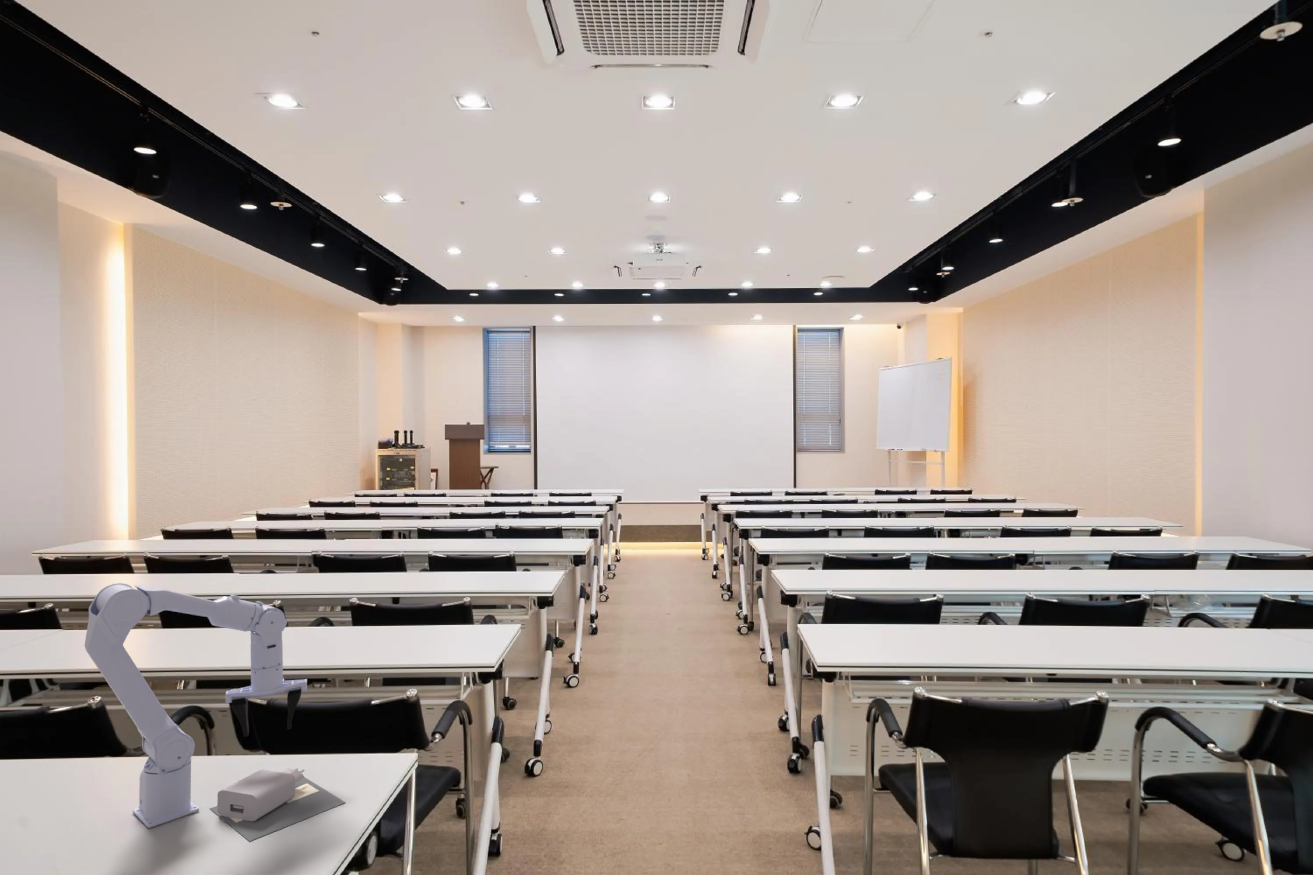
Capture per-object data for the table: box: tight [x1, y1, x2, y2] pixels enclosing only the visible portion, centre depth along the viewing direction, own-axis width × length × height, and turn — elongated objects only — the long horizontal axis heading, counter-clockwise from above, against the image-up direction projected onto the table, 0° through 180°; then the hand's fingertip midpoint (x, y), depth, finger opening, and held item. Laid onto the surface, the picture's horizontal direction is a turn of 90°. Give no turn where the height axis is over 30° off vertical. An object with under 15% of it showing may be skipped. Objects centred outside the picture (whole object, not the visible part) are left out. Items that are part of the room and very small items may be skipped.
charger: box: [216, 767, 305, 821], centre depth 134 cm, size 5×9×15 cm
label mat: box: [209, 776, 347, 843], centre depth 132 cm, size 18×17×1 cm
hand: (268, 730), depth 142 cm, fingers open, 7 cm apart
